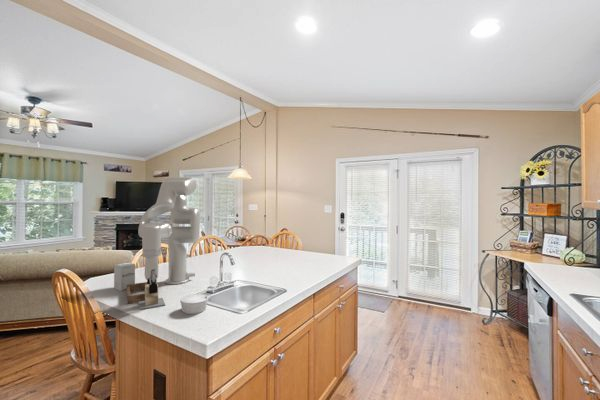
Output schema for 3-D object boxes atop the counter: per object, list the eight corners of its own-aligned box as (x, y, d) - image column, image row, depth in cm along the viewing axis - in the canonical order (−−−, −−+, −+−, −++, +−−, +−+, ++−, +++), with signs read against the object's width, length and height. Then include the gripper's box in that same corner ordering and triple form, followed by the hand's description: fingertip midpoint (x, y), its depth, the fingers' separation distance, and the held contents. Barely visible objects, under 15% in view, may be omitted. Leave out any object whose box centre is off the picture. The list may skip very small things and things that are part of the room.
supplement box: (120, 290, 149) (120, 266, 149) (113, 288, 153) (113, 264, 153) (135, 287, 155) (135, 263, 155) (128, 284, 159) (128, 262, 159)
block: (157, 300, 134) (157, 283, 134) (158, 303, 130) (158, 285, 130) (144, 302, 132) (144, 284, 131) (145, 305, 127) (145, 287, 127)
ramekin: (206, 314, 120) (206, 301, 120) (177, 316, 118) (177, 303, 118) (209, 304, 131) (209, 293, 131) (182, 306, 129) (182, 294, 128)
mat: (162, 298, 138) (162, 297, 138) (165, 305, 129) (165, 304, 129) (138, 302, 132) (138, 301, 132) (139, 310, 124) (139, 308, 124)
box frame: (153, 287, 155) (153, 281, 155) (158, 299, 137) (158, 291, 137) (126, 291, 148) (126, 284, 148) (127, 304, 131) (127, 296, 131)
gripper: (141, 249, 136) (141, 285, 137) (143, 257, 121) (144, 297, 122) (158, 248, 140) (159, 283, 141) (163, 255, 125) (163, 294, 126)
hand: (152, 289), depth 131 cm, fingers open, 9 cm apart
